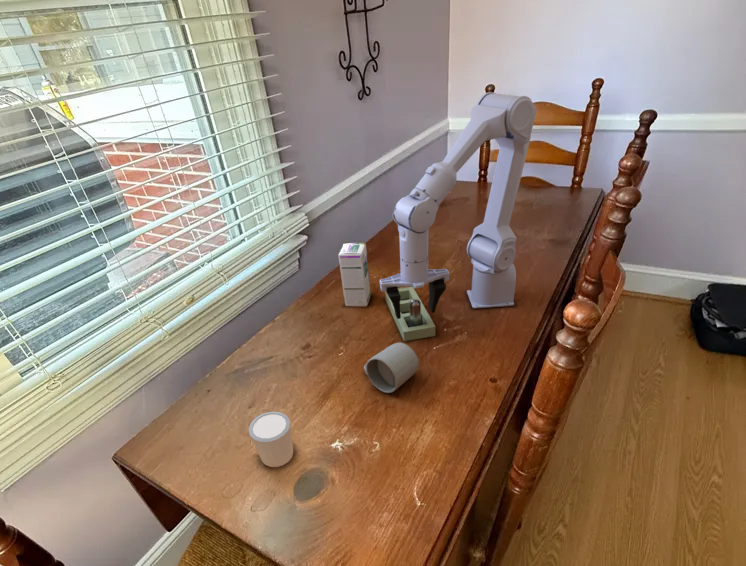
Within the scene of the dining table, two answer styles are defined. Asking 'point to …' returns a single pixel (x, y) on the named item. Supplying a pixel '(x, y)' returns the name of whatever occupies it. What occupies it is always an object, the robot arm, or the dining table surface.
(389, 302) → the rack
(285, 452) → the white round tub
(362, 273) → the syrup box
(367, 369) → the ceramic mug
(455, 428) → the dining table surface
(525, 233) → the dining table surface
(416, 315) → the silver rounded cylinder
